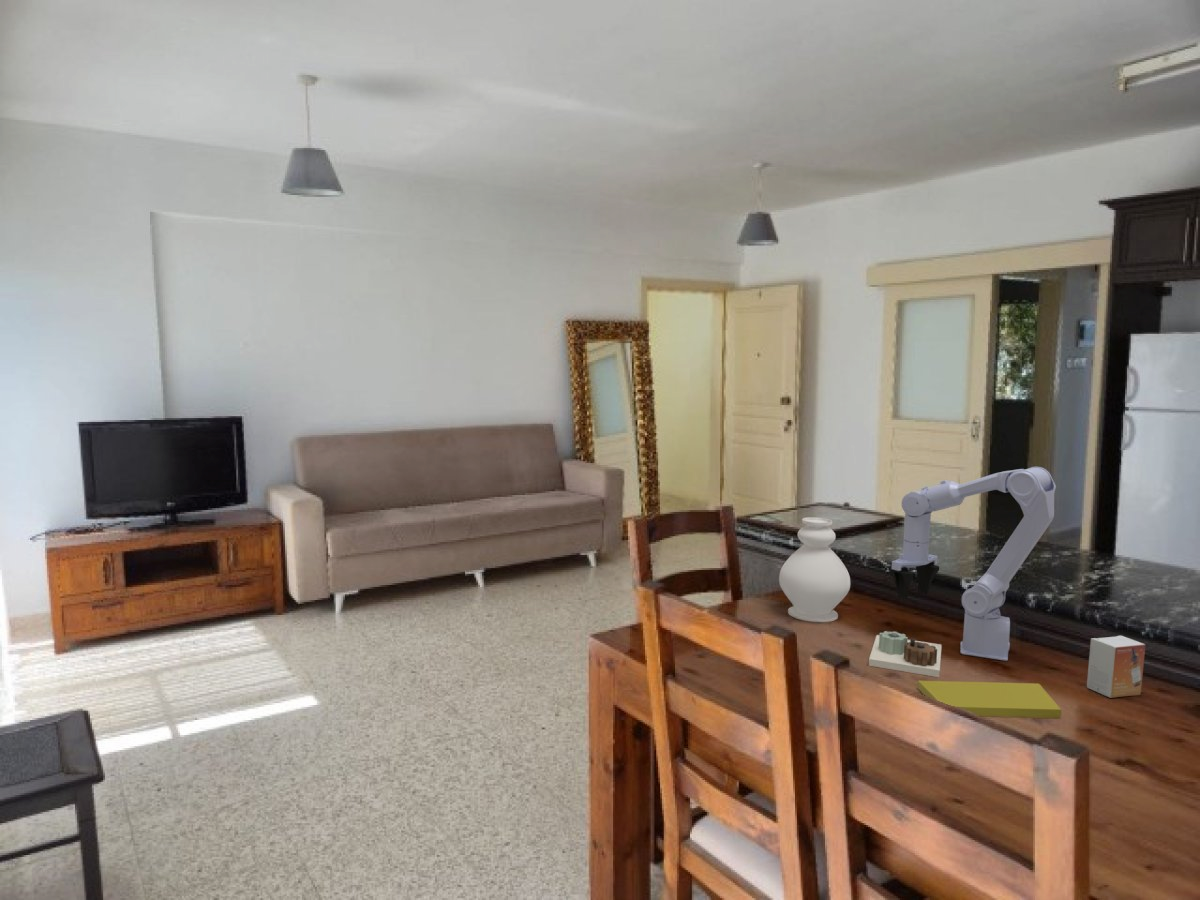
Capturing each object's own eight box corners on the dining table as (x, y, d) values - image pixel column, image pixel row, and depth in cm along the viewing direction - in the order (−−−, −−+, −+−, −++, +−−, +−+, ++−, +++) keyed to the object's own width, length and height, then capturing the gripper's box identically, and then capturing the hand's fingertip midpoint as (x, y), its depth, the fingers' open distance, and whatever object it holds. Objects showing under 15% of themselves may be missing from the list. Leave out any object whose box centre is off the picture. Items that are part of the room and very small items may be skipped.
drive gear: (936, 657, 169) (938, 637, 168) (935, 668, 163) (937, 647, 162) (904, 652, 171) (905, 633, 171) (902, 662, 165) (904, 642, 165)
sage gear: (908, 648, 174) (909, 634, 174) (904, 656, 169) (905, 641, 169) (881, 643, 177) (881, 629, 176) (876, 651, 172) (877, 637, 171)
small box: (1110, 699, 152) (1114, 647, 151) (1085, 687, 158) (1089, 637, 157) (1141, 695, 155) (1146, 644, 153) (1116, 684, 160) (1121, 634, 159)
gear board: (941, 650, 177) (942, 627, 177) (939, 677, 162) (940, 651, 161) (876, 641, 183) (877, 618, 182) (868, 665, 168) (870, 641, 167)
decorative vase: (765, 606, 208) (768, 515, 205) (822, 601, 213) (827, 512, 211) (801, 628, 191) (805, 528, 189) (863, 622, 197) (868, 525, 194)
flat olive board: (942, 717, 144) (1073, 721, 144) (943, 706, 144) (1074, 709, 143) (917, 691, 156) (1038, 694, 156) (918, 680, 156) (1039, 683, 156)
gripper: (921, 534, 193) (918, 587, 195) (882, 540, 186) (879, 595, 187) (946, 540, 187) (943, 594, 189) (907, 546, 180) (904, 603, 181)
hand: (913, 595), depth 188 cm, fingers open, 7 cm apart
